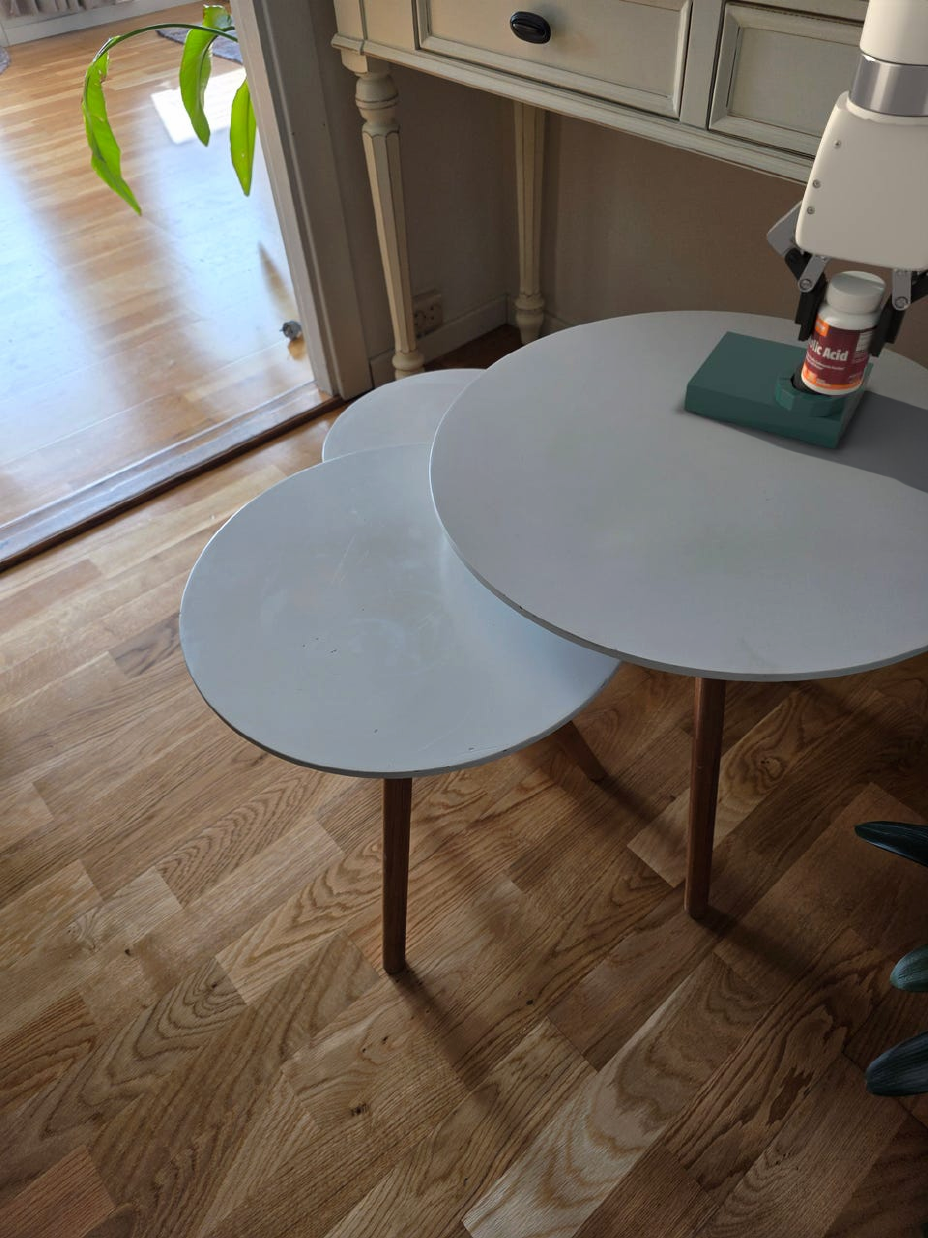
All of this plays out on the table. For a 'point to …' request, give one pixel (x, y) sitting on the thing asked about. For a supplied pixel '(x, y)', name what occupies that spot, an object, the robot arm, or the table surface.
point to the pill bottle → (844, 333)
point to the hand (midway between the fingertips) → (842, 338)
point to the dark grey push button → (800, 384)
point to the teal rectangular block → (768, 391)
